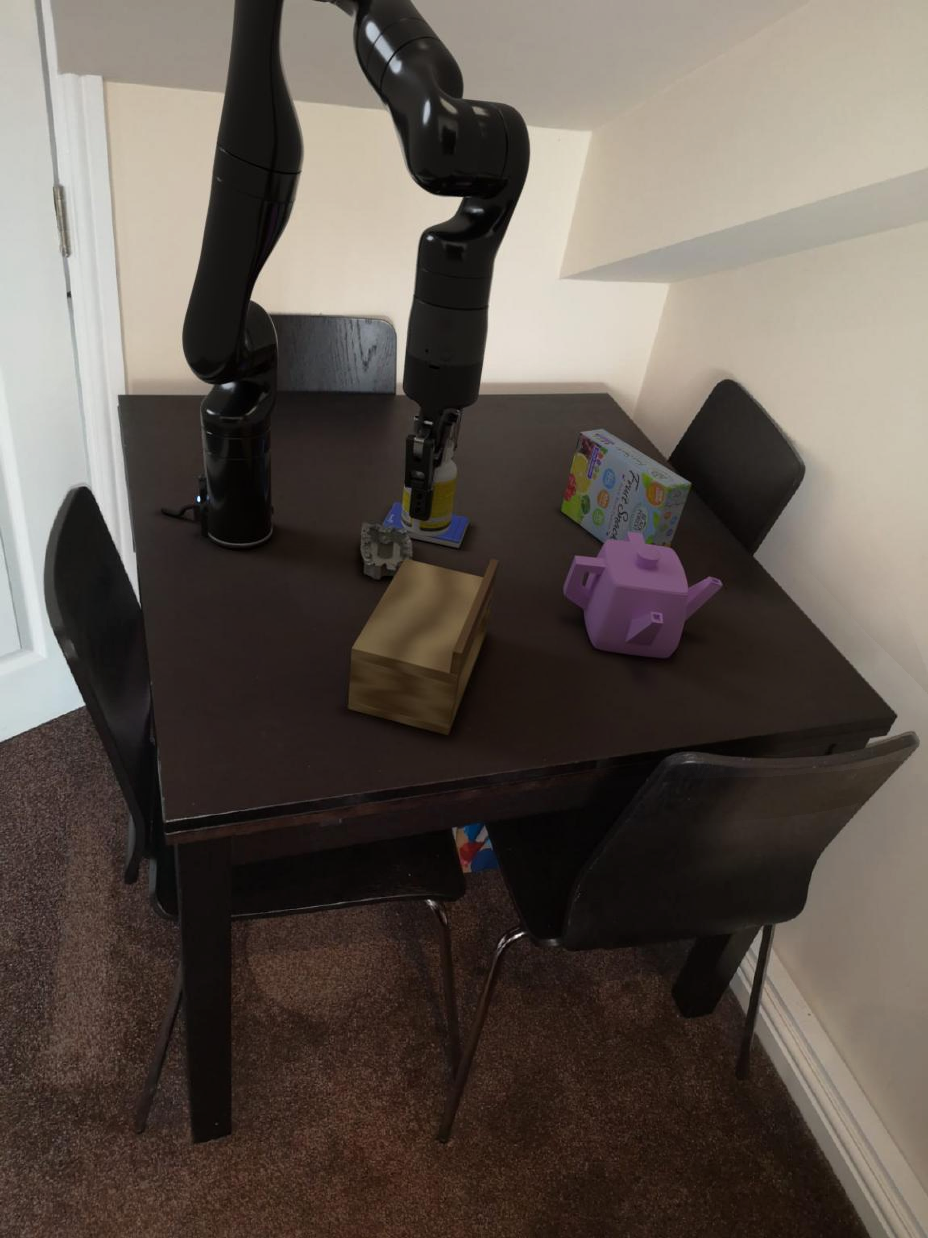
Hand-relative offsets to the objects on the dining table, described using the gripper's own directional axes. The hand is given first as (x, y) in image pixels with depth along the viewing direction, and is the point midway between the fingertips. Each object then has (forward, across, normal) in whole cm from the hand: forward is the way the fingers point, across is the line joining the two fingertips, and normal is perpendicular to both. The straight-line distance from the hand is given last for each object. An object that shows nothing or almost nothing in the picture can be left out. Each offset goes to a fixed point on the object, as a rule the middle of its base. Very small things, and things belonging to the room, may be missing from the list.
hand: (427, 505), depth 85 cm
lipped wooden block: (+23, 0, +2) cm, 23 cm away
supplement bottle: (+3, 0, 0) cm, 3 cm away
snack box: (+23, -46, +22) cm, 55 cm away
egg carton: (+23, -22, -10) cm, 34 cm away
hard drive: (+23, -34, -8) cm, 42 cm away
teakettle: (+23, -20, +27) cm, 41 cm away
